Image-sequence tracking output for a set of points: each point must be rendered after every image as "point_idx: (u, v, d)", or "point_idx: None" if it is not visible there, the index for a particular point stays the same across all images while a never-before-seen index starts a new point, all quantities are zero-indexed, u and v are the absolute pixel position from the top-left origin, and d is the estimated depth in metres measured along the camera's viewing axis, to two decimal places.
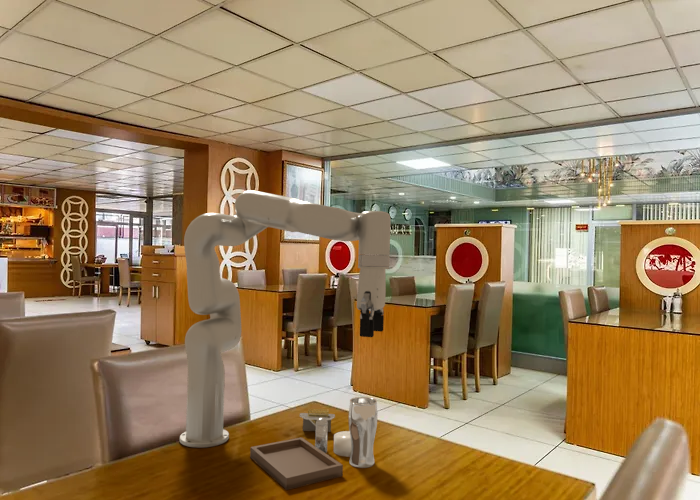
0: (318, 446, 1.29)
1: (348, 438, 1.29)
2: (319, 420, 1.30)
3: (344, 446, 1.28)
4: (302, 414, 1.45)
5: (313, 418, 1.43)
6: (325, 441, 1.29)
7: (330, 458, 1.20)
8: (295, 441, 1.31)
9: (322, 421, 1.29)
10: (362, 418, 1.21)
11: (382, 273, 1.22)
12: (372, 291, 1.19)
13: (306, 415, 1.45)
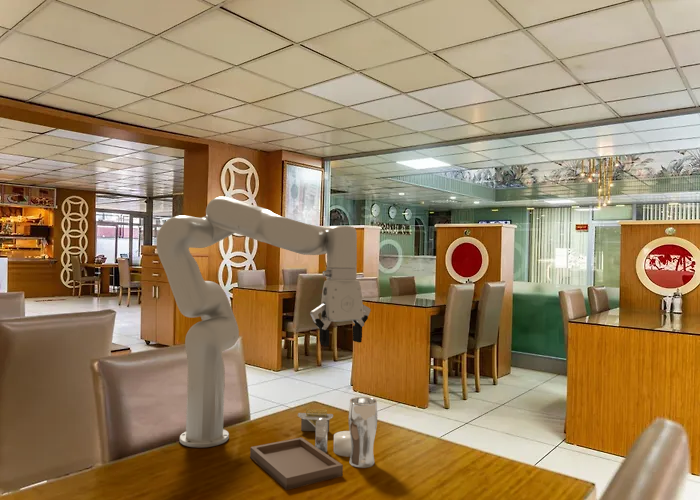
0: (318, 446, 1.29)
1: (348, 438, 1.29)
2: (319, 420, 1.30)
3: (344, 446, 1.28)
4: (300, 414, 1.46)
5: (311, 418, 1.43)
6: (325, 441, 1.29)
7: (330, 458, 1.20)
8: (295, 441, 1.31)
9: (322, 421, 1.29)
10: (362, 418, 1.21)
11: None
12: None
13: (304, 415, 1.45)
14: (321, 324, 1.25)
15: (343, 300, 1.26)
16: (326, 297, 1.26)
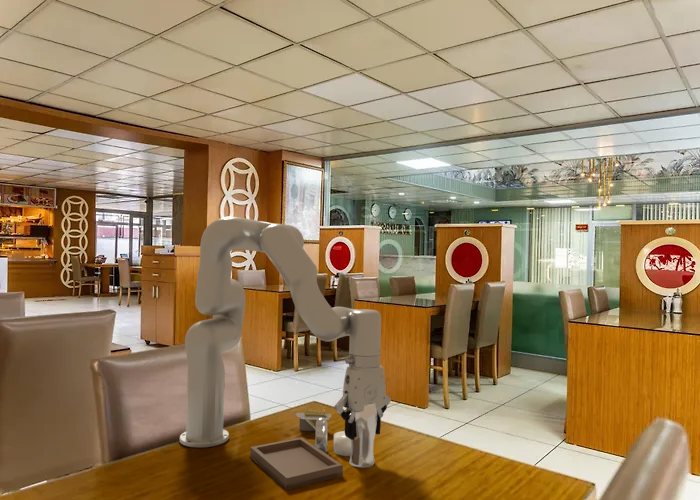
0: (318, 446, 1.29)
1: None
2: (319, 420, 1.30)
3: (346, 445, 1.28)
4: (299, 414, 1.46)
5: (309, 418, 1.43)
6: (325, 441, 1.29)
7: (330, 458, 1.20)
8: (295, 441, 1.31)
9: (322, 421, 1.29)
10: (362, 418, 1.21)
11: None
12: None
13: (302, 415, 1.45)
14: (346, 418, 1.21)
15: (366, 389, 1.21)
16: (348, 386, 1.21)
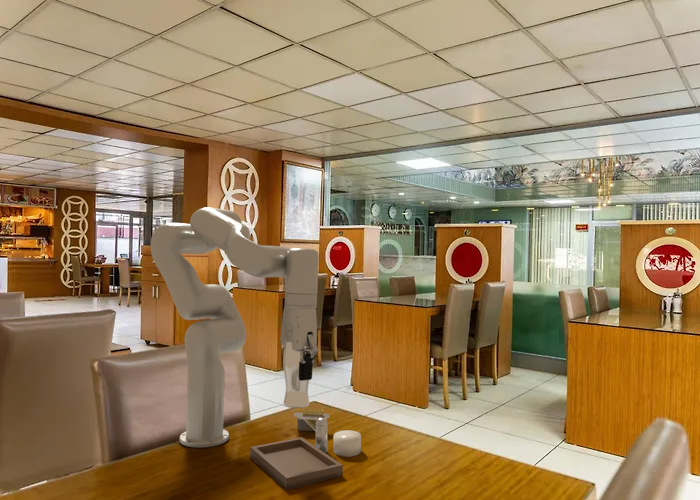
0: (318, 446, 1.29)
1: (350, 437, 1.30)
2: (319, 420, 1.30)
3: (350, 446, 1.28)
4: (297, 414, 1.46)
5: (307, 418, 1.43)
6: (325, 441, 1.29)
7: (330, 458, 1.20)
8: (295, 441, 1.31)
9: (322, 421, 1.29)
10: None
11: None
12: (314, 331, 1.18)
13: (300, 415, 1.45)
14: None
15: (287, 326, 1.21)
16: None
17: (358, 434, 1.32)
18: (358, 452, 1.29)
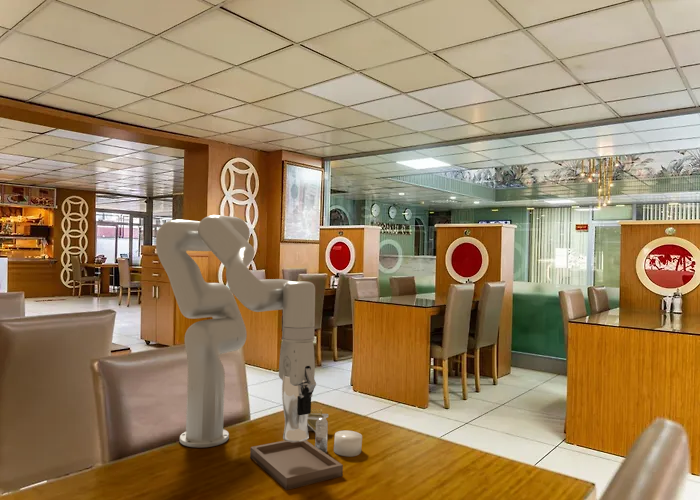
0: (318, 446, 1.29)
1: (353, 437, 1.30)
2: (319, 420, 1.30)
3: (353, 446, 1.28)
4: None
5: None
6: (325, 441, 1.29)
7: (330, 458, 1.20)
8: None
9: (322, 421, 1.29)
10: None
11: None
12: (312, 364, 1.18)
13: None
14: None
15: (284, 360, 1.21)
16: None
17: (359, 434, 1.32)
18: (359, 452, 1.30)
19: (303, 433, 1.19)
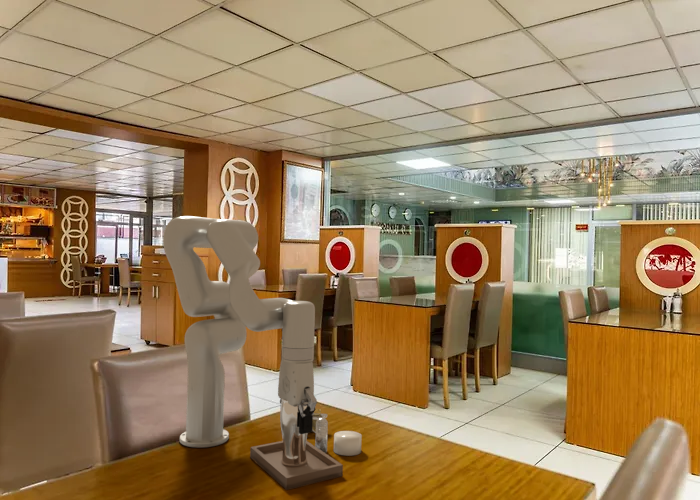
0: (318, 446, 1.29)
1: (353, 436, 1.30)
2: (319, 420, 1.30)
3: (355, 445, 1.28)
4: None
5: None
6: (325, 441, 1.29)
7: (330, 458, 1.20)
8: None
9: (322, 421, 1.29)
10: None
11: None
12: (311, 385, 1.18)
13: None
14: (281, 398, 1.26)
15: (284, 379, 1.21)
16: None
17: (357, 433, 1.33)
18: (360, 450, 1.30)
19: (301, 457, 1.19)
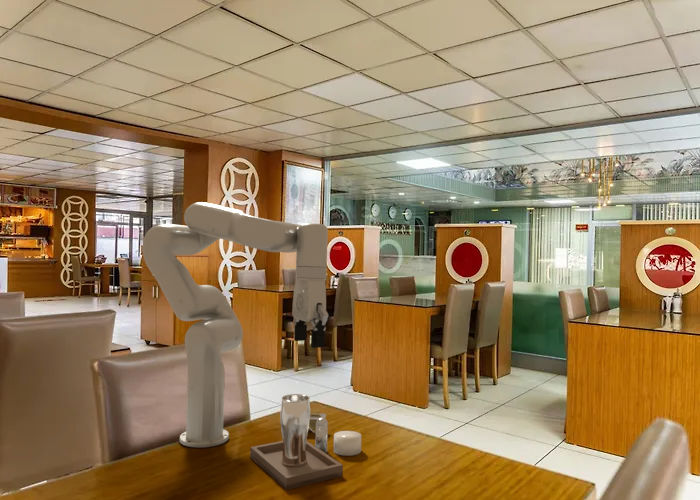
0: (318, 446, 1.29)
1: (353, 436, 1.31)
2: (319, 420, 1.30)
3: (356, 444, 1.29)
4: None
5: None
6: (325, 441, 1.29)
7: (330, 458, 1.20)
8: None
9: (322, 421, 1.29)
10: None
11: None
12: (323, 302, 1.23)
13: None
14: (295, 319, 1.31)
15: (297, 298, 1.26)
16: None
17: (356, 432, 1.33)
18: (360, 449, 1.31)
19: (301, 457, 1.19)
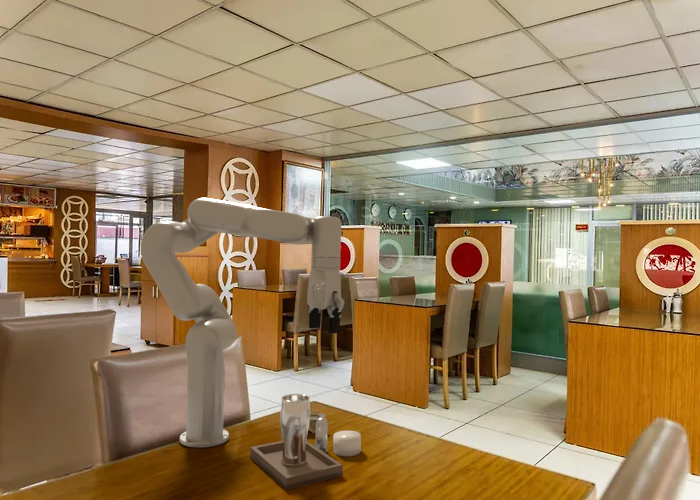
0: (318, 446, 1.29)
1: (353, 435, 1.31)
2: (319, 420, 1.30)
3: (357, 444, 1.29)
4: None
5: None
6: (325, 441, 1.29)
7: (330, 458, 1.20)
8: None
9: (322, 421, 1.29)
10: None
11: None
12: (339, 290, 1.30)
13: None
14: None
15: (313, 287, 1.33)
16: None
17: (354, 432, 1.34)
18: None
19: (301, 457, 1.19)
